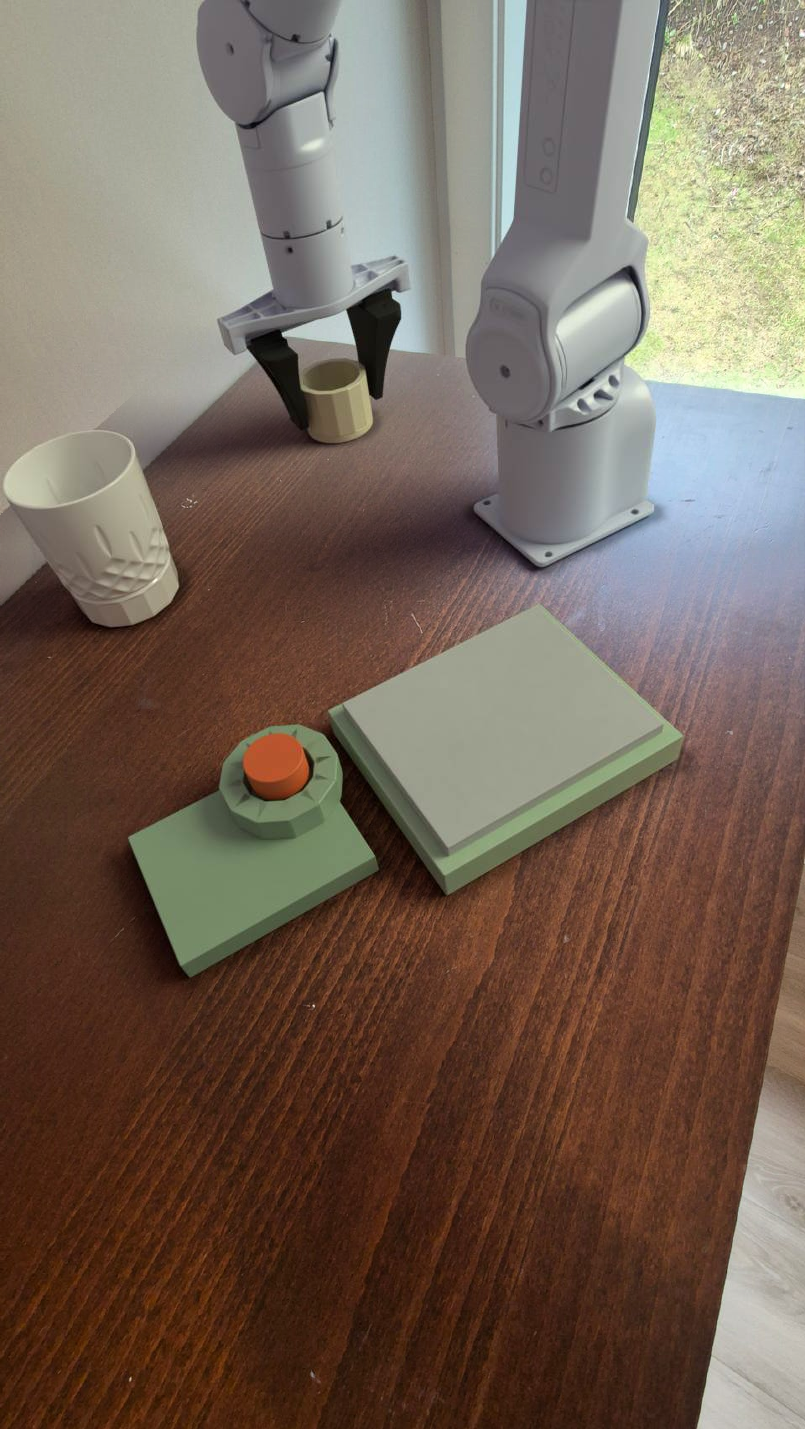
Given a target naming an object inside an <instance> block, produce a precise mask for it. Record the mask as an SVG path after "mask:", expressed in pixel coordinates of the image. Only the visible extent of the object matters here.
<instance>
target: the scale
mask: <svg viewBox="0 0 805 1429" xmlns="http://www.w3.org/2000/svg"><path fill="white" fill-rule="evenodd" d="M327 716H328V719H329V722H330V725H331V728H332V732H333V734H334V736H335V738H336V739H337V740H338V741H339V743H340V745H341V746H342V747H343V748H344V750H345V752H346V753H347V755H348V756H349V757H350V759H351V760H352V762H353V763H354V765H355V766H356V768H357V769H358V770H359V772H360V774H361V775H362V777H364V779H365V781H366V782H367V783H368V785H369V786H370V788H371V789H372V791H373V792H374V794H375V795H376V797H377V798H378V799H379V801H380V802H381V804H382V805H383V806H384V808H385V809H386V811H387V812H388V813H389V815H390V817H391V818H392V820H393V821H394V822H395V824H396V825H397V827H398V829H399V830H400V831H401V832H402V834H403V835H404V836H405V839H406V840H407V841H408V842H409V844H410V845H411V847H412V848H413V850H414V851H415V853H416V854H417V855H418V857H419V858H420V860H421V862H422V863H423V864H424V865H425V867H426V868H427V870H428V871H429V873H430V874H431V876H432V878H433V879H434V880H435V881H436V883H437V885H438V886H439V887H440V889H441V890H442V891H443V893H444V894H445V895H446V896H450V895H451V894H453V893H455V892H456V891H458V890H459V889H462V887H464V886H466V885H468V884H469V883H471V882H473V881H474V880H477V879H478V878H479V877H481V876H483V875H484V874H486V873H488V872H490V871H492V870H493V869H494V868H497V867H498V866H499V865H501V864H503V863H505V862H506V861H508V860H510V859H512V858H513V857H515V856H517V855H519V854H520V853H522V852H523V851H526V850H527V849H528V848H530V847H532V846H533V845H535V844H537V843H539V842H541V841H542V840H543V839H545V838H547V837H548V836H550V835H552V834H554V833H555V832H557V831H558V830H560V829H563V828H564V827H566V826H568V825H569V824H571V823H572V822H574V821H576V820H577V819H579V818H581V817H582V816H583V815H586V814H587V813H589V812H591V811H593V810H594V809H596V808H597V807H599V806H601V805H603V804H604V803H606V802H608V801H610V800H611V799H613V798H614V797H616V796H618V795H619V794H621V793H623V792H625V791H626V790H628V789H630V788H631V787H633V786H635V785H636V784H638V783H640V782H641V781H643V780H645V779H647V778H648V777H650V776H651V775H653V774H655V773H657V772H658V771H660V770H662V769H663V768H666V767H667V766H668V765H670V764H671V763H674V762H675V761H677V760H678V758H679V755H680V751H681V747H682V742H683V738H684V735H683V734H682V733H681V732H680V731H679V730H678V729H676V728H675V726H673V724H671V722H669V721H668V720H667V719H666V718H665V717H663V715H661V714H660V713H659V712H658V711H657V710H656V709H655V708H653V706H652V705H650V704H649V703H648V702H647V701H646V700H645V699H644V698H642V696H641V695H639V694H638V693H637V692H636V691H635V690H634V689H633V688H632V687H631V686H630V685H629V684H627V682H625V681H624V679H622V678H621V677H620V676H619V675H618V674H617V673H616V672H614V671H613V670H612V669H611V668H610V667H609V666H608V665H607V664H606V663H605V662H604V661H602V660H601V659H600V658H599V657H598V656H597V655H596V654H595V653H594V652H593V651H592V650H590V648H588V647H587V646H586V645H585V644H584V643H583V641H581V640H580V639H579V638H577V637H576V636H575V635H574V634H573V633H572V632H571V631H570V630H568V629H567V627H566V626H564V625H563V624H562V623H561V622H560V621H559V620H558V619H557V618H556V617H555V616H554V615H552V614H551V613H550V612H549V611H548V610H547V609H546V608H545V607H544V606H542V604H541V603H536V604H535V605H533V606H531V607H528V608H527V609H525V610H523V611H521V612H519V613H517V614H514V615H513V616H511V617H509V618H507V619H505V620H504V621H500V622H499V623H498V624H495V625H493V626H491V627H489V628H488V629H486V630H483V631H482V632H479V633H478V634H476V635H474V636H472V637H470V638H467V639H466V640H464V641H461V642H460V643H458V644H456V645H454V646H452V647H450V648H448V649H446V650H444V651H442V652H440V653H438V654H436V655H434V656H432V657H430V658H428V659H427V660H424V661H422V662H420V663H418V664H416V665H415V666H413V667H411V668H409V669H406V670H404V671H403V672H401V673H399V674H397V675H395V676H393V677H391V678H389V679H387V680H385V681H382V682H381V683H379V684H377V685H375V686H373V687H371V688H369V689H368V690H367V689H366V690H365V691H363V692H362V693H359V694H357V695H355V696H353V697H352V698H350V699H347V700H346V701H343V702H342V703H340V704H338V705H336V706H333V707H332V708H329V709H328V710H327Z"/></svg>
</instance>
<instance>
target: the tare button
mask: <svg viewBox="0 0 805 1429" xmlns="http://www.w3.org/2000/svg"><path fill="white" fill-rule="evenodd" d="M243 768H244V771H245V773H246V775H247V778H248V780H249V782H250V784H251V786H252V789H253V790H254V791H255V793H256V794H258V795H259V796H261V797H263V798H265V799H269V800H280V799H285V798H288V797H290V796H292V795H294V794H296V793H297V792H298V791H299V790H300V789H302V787H303V786H304V785H305V783H306V781H307V779H308V776H309V765H308V762H307V760H306V757H305V754H304V751H303V748H302V746H301V744H300V742H299V741H298V740H297V739H295V738H294V737H292V736H290V735H288V734H283V733H274V734H269V735H266V736H263V737H261V738H259V739H257V740H256V741H254V742H253V743H252V744H251V745H250V746H249V747H248V749H247V750H246V752H245V754H244V757H243Z"/></svg>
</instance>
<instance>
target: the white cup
mask: <svg viewBox="0 0 805 1429" xmlns="http://www.w3.org/2000/svg"><path fill="white" fill-rule="evenodd" d="M1 490H2V494H3V495H4V497H5V499H6V501H7V502H8V503H9V505H10V506H11V508H12V509H13V511H14V513H15V514H16V516H17V517H18V519H19V520H20V522H21V524H22V525H23V526H24V528H25V530H26V531H27V533H28V534H29V536H30V538H31V539H32V540H33V542H34V544H35V545H36V546H37V549H38V550H39V551H40V553H41V554H42V556H43V558H44V559H45V561H46V562H47V564H48V566H50V568H51V569H52V571H53V573H54V574H55V575H56V576H57V577H58V579H59V580H60V583H61V584H62V585H63V586H64V588H65V589H66V590H67V591H68V592H69V593H70V594H71V596H72V598H73V599H74V601H75V602H76V605H77V606H78V607H79V609H80V610H81V612H82V613H83V614H84V615H85V616H86V617H87V618H88V619H89V621H91V623H92V624H93V623H94V624H97V625H100V626H104V627H108V628H118V627H119V628H120V627H127V626H129V627H130V626H134V625H136V624H140V623H142V622H144V621H146V620H149V619H151V618H154V617H155V616H157V615H158V614H159V613H160V612H162V611H163V610H164V609H165V608H166V607H167V606H169V605H171V603H172V601H173V600H174V597H175V596H176V594H177V592H178V590H179V588H180V584H179V581H180V580H179V575H178V574H179V573H178V569H177V566H176V564H175V562H174V559H173V557H172V554H171V551H170V545H169V541H168V539H167V535H166V532H165V530H164V527H163V524H162V520H161V517H160V514H159V512H158V509H157V506H156V504H155V501H154V498H153V495H152V493H151V490H150V487H149V484H148V481H147V479H146V476H145V474H144V471H143V468H142V465H141V463H140V460H139V456H138V454H137V451H136V449H135V446H134V443H133V442H132V441H131V439H129V438H128V437H126V436H125V435H123V434H121V433H118V432H115V431H111V430H104V429H90V430H89V429H87V430H80V431H74V432H69V433H66V434H62V435H58V436H56V437H53V438H51V439H48V440H46V441H44V442H41V443H39V444H38V445H36V446H34V447H31V449H29V450H27V451H26V452H24V453H23V454H22V455H20V456H18V458H17V459H15V461H14V462H13V463H12V464H11V465H10V466H9V468H8V469H7V470H6V472H5V473H4V475H3V478H2V482H1Z"/></svg>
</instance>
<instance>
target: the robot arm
mask: <svg viewBox="0 0 805 1429" xmlns="http://www.w3.org/2000/svg"><path fill="white" fill-rule="evenodd" d="M660 1H661V0H526V5H525V6H526V7H525V9H526V10H525V21H524V22H525V23H524V37H523V39H524V40H523V54H522V55H523V56H522V69H521V70H522V71H521V86H520V88H521V89H520V105H519V106H520V107H519V121H518V124H519V125H518V138H517V139H518V140H517V152H516V153H517V154H516V171H515V184H514V185H515V186H514V187H515V188H514V201H513V202H514V205H513V219H512V222H511V224H510V226H509V227H508V230H507V231H506V233H505V235H504V237H503V239H502V241H501V243H500V244H499V246H498V248H497V250H496V251H495V253H494V254H493V257H492V259H491V260H490V261H489V264H488V266H487V267H486V269H485V271H484V274H483V275H482V278H481V281H480V282H481V283H480V298H479V306H478V311H477V313H476V316H475V318H474V319H473V322H472V324H471V325H470V327H469V329H468V332H467V335H466V340H465V350H464V352H465V353H464V354H465V363H466V368H467V370H468V371H467V372H468V375H469V378H470V380H471V383H472V385H473V387H474V389H475V391H476V392H477V394H478V395H479V397H480V398H481V400H482V401H483V403H484V404H485V405H486V407H488V411H489V412H491V414H494V415H495V416H496V418H495V419H496V445H497V449H496V450H497V477H498V479H497V482H498V492H497V493H494V494H493V495H490V496H488V497H486V498H484V499H482V500H479V501H478V502H476V503H474V505H473V512H474V513H475V514H476V515H477V516H478V517H479V518H481V519H482V520H483V521H484V522H485V523H487V525H489V526H490V528H492V529H493V530H494V531H495V532H496V533H498V534H499V535H500V536H501V537H503V538H504V539H505V540H506V541H507V542H508V543H510V545H512V546H513V548H515V549H516V550H518V551H519V552H520V553H521V554H522V555H523V556H524V557H525V558H527V559H528V560H529V561H530V562H531V563H532V564H533V565H534V566H536V567H537V568H544V567H547V566H549V565H551V564H553V563H555V562H557V561H559V560H562V559H564V558H565V557H567V556H570V555H571V554H573V553H575V552H577V551H580V550H582V549H584V548H586V547H588V546H590V545H591V544H594V543H596V542H598V541H600V540H602V539H604V538H606V537H607V536H610V535H611V534H614V533H616V532H618V531H620V530H622V529H624V528H626V527H628V526H630V525H633V524H634V523H636V522H638V521H640V520H642V519H644V518H646V517H648V516H650V515H652V514H654V511H655V504H654V503H652V502H651V501H649V500H648V499H647V498H648V489H649V483H650V474H651V473H650V472H651V466H652V458H653V451H654V443H655V438H656V437H655V436H656V428H657V413H656V408H655V402H654V399H653V396H652V393H651V391H650V388H649V386H648V384H647V382H646V381H645V380H644V379H643V378H642V376H641V375H640V374H639V373H638V372H637V371H636V370H635V369H634V368H632V367H631V366H629V365H627V364H625V360H626V356H627V355H629V354H630V353H632V352H633V351H634V350H635V349H636V348H637V347H638V345H640V343H641V342H642V340H643V338H644V337H645V335H646V333H647V330H648V327H649V324H650V319H651V299H650V294H649V288H648V283H647V280H646V259H647V253H648V249H649V242H650V240H649V237H648V236H647V235H646V234H645V233H644V231H643V230H641V228H640V227H639V226H637V224H635V223H634V222H633V221H631V220H630V219H629V218H628V217H627V216H626V212H627V203H628V198H629V191H630V186H631V179H632V174H633V167H634V161H635V155H636V148H637V142H638V138H639V130H640V124H641V118H642V113H643V106H644V99H645V94H646V87H647V83H648V82H647V81H648V76H649V70H650V63H651V57H652V50H653V45H654V37H655V32H656V27H657V20H658V15H659V14H658V13H659V9H660ZM342 3H343V0H203V1H202V2H201V4H200V5H199V7H198V9H197V24H196V32H195V33H196V34H195V35H196V36H195V37H196V38H195V39H196V51H197V56H198V62H199V65H200V69H201V72H202V76H203V78H204V81H205V84H206V86H207V88H208V91H209V92H210V94H211V96H212V98H213V100H214V101H215V103H216V104H217V106H218V107H219V108H220V110H221V111H222V112H223V113H224V115H225V116H227V117H228V118H229V119H230V121H233V122H234V126H235V130H236V135H237V138H238V143H239V147H240V151H241V152H240V153H241V158H242V161H243V165H244V171H245V173H246V178H247V182H248V187H249V191H250V194H251V195H250V196H251V200H252V204H253V209H254V212H255V217H256V221H257V226H258V230H259V234H260V238H261V243H262V246H263V250H264V256H265V260H266V264H267V267H268V273H269V277H270V282H271V286H272V289H271V290H269V291H268V292H265V293H264V294H263V295H261V296H259V297H258V298H256V299H254V300H252V301H250V302H248V303H247V304H245V305H244V306H242V307H241V308H238V309H236V310H235V311H232V312H230V313H228V314H226V315H223V316H221V317H219V318H217V319H216V322H217V326H218V328H219V333H220V336H221V339H222V343H223V345H224V347H225V348H226V349H227V350H228V351H229V352H230V353H231V354H232V355H234V356H236V355H239V354H242V353H244V352H246V351H248V352H249V353H250V354H251V355H252V357H253V358H254V359H255V360H256V362H257V363H258V364H259V366H260V367H261V368H262V370H263V372H264V373H265V374H266V376H267V377H268V378H269V380H270V382H271V383H272V384H273V387H274V388H275V390H276V391H277V393H278V395H279V396H280V399H281V401H282V402H283V405H284V407H285V409H286V411H287V413H288V414H287V415H288V416H289V418H290V422H292V423H293V424H294V425H295V426H296V427H297V428H298V429H299V430H300V431H304V430H306V429H307V428H309V420H308V415H307V411H306V407H305V404H304V400H303V396H302V392H301V386H300V378H299V374H300V367H299V354H298V353H297V352H296V351H295V350H294V349H293V348H291V346H289V343H288V339H287V338H285V337H284V336H283V333H285V332H288V331H290V330H293V329H296V328H299V327H301V326H304V325H306V324H307V325H308V324H310V323H312V322H314V321H315V322H316V321H317V320H322V319H327V318H330V317H334V316H336V315H339V314H341V313H342V312H344V311H346V314H347V317H348V321H349V324H350V327H351V331H352V336H353V339H354V344H355V348H356V355H357V361H358V362H359V363H361V364H362V365H363V366H365V369H366V376H367V382H368V388H369V395H370V398H372V399H374V400H375V401H378V400H381V399H383V397H384V385H385V376H386V370H387V363H388V359H389V354H390V349H391V346H392V343H393V341H394V340H393V339H394V337H395V335H396V331H397V329H398V327H399V325H400V322H401V320H402V306H401V303H400V302H398V301H397V300H395V299H394V298H393V292H396V293H398V294H401V293H405V292H406V291H410V290H411V289H412V285H411V276H410V266H409V261H407V260H405V259H404V258H402V257H400V256H398V255H397V254H392V255H389V256H386V257H383V258H379V259H374V260H371V261H370V260H369V261H366V262H361V263H356V264H355V263H354V264H352V262H351V257H350V251H349V244H348V238H347V230H346V224H345V219H344V212H343V206H342V200H341V194H340V186H339V181H338V174H337V169H336V168H337V167H336V161H335V155H334V149H333V143H332V137H331V131H332V130H333V128H334V126H335V124H334V122H335V120H336V119H337V117H336V110H335V102H334V90H335V86H336V83H337V79H338V77H339V71H340V64H341V63H340V60H341V57H340V56H341V55H340V54H341V53H340V42H339V39H338V37H334V35H333V27H334V25H335V22H336V19H337V16H338V14H339V12H340V11H339V10H340V8H341V6H342Z"/></svg>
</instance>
